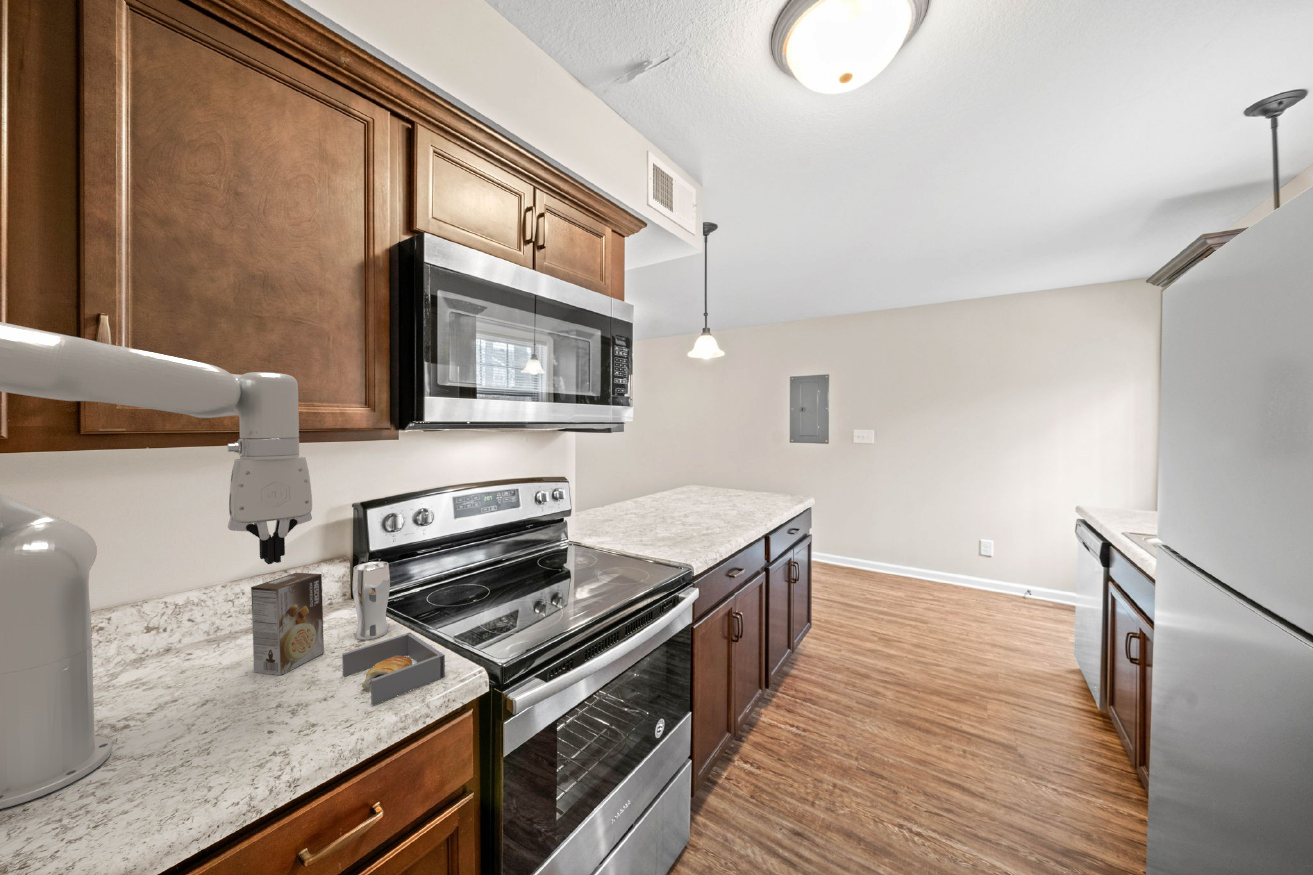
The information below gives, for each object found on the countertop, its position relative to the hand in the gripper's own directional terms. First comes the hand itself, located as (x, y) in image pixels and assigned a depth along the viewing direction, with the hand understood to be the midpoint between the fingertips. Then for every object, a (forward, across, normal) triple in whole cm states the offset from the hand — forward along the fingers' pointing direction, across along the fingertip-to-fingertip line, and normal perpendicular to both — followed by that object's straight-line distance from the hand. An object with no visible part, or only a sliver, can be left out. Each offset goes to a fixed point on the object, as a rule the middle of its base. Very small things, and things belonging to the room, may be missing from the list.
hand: (272, 561), depth 79 cm
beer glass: (+23, +20, +16) cm, 35 cm away
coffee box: (+23, +5, +14) cm, 28 cm away
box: (+23, +16, -6) cm, 29 cm away
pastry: (+24, +15, -7) cm, 29 cm away
